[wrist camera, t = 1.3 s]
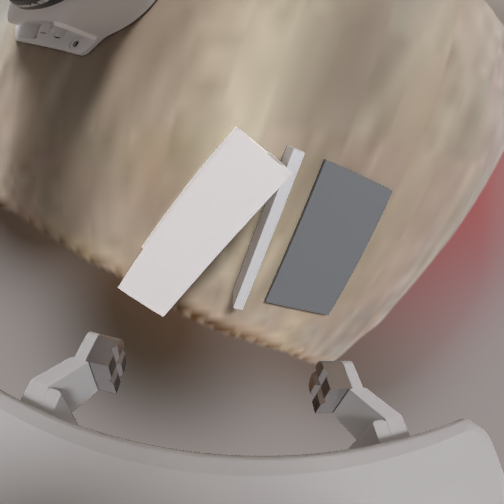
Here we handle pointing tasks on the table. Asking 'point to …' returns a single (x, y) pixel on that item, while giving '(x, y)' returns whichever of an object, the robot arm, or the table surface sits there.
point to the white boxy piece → (203, 220)
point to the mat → (328, 239)
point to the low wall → (265, 229)
